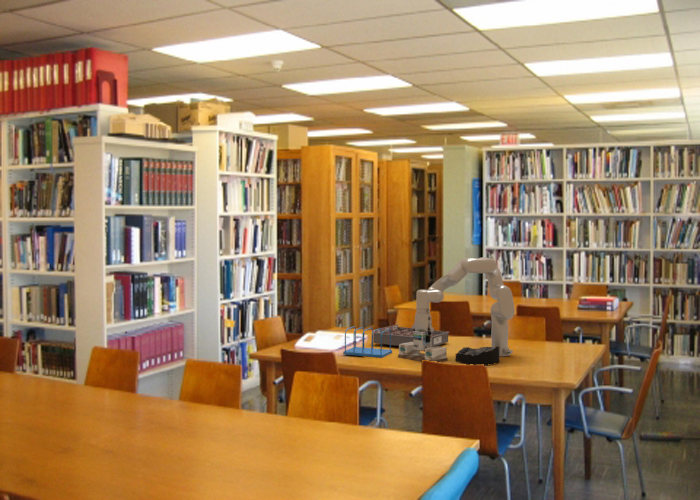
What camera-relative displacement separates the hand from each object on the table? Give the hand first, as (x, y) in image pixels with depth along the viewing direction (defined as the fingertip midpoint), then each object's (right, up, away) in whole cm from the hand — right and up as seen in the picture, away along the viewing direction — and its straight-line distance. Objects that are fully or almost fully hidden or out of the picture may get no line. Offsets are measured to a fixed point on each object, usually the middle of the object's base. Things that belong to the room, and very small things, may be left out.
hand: (422, 341), depth 413 cm
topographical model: (+31, -11, -5) cm, 33 cm away
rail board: (0, -10, 0) cm, 10 cm away
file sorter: (-31, -10, +16) cm, 36 cm away
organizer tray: (-3, -9, +49) cm, 49 cm away
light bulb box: (0, -5, 0) cm, 5 cm away
